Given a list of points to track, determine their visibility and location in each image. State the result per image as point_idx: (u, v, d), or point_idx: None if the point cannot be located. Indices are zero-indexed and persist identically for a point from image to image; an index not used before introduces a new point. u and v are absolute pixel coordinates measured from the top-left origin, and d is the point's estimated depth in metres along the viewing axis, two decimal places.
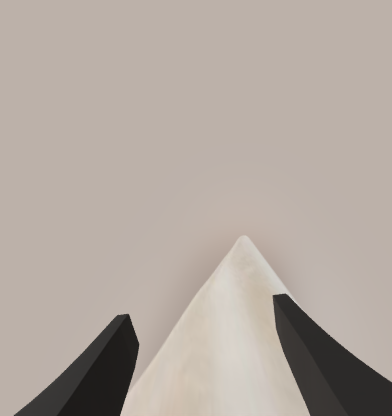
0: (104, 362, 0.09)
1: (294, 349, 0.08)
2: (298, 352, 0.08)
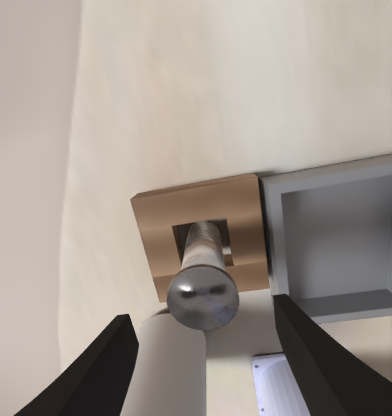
0: (104, 362, 0.09)
1: (294, 349, 0.08)
2: (298, 352, 0.08)
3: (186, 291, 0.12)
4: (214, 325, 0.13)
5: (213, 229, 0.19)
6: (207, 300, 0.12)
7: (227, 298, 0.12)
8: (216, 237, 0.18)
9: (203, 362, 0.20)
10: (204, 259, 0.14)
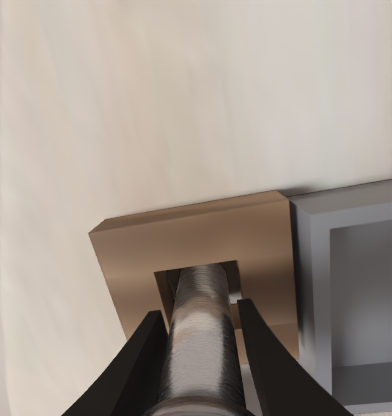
0: (145, 358, 0.08)
1: (250, 354, 0.08)
2: (251, 357, 0.08)
3: None
4: None
5: (217, 274, 0.12)
6: None
7: None
8: (222, 291, 0.11)
9: None
10: (203, 361, 0.07)
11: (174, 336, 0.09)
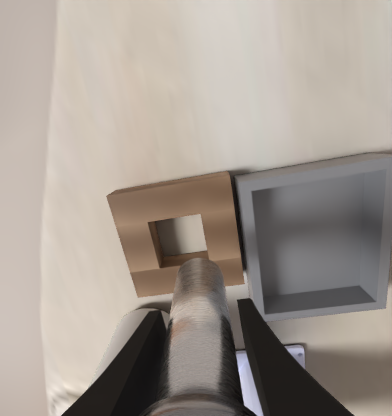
0: (145, 358, 0.08)
1: (250, 354, 0.08)
2: (252, 357, 0.08)
3: None
4: None
5: (214, 274, 0.13)
6: None
7: None
8: (219, 290, 0.11)
9: None
10: (201, 360, 0.07)
11: (172, 335, 0.09)
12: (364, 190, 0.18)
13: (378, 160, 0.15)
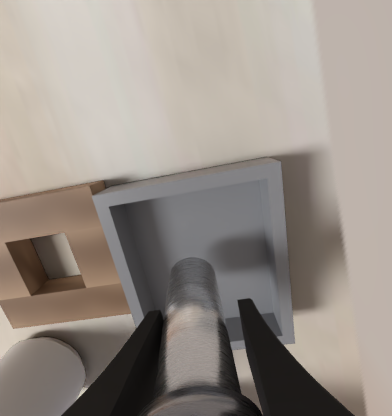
0: (144, 358, 0.08)
1: (250, 354, 0.08)
2: (252, 357, 0.08)
3: None
4: None
5: (207, 272, 0.13)
6: None
7: None
8: (212, 288, 0.12)
9: (58, 398, 0.17)
10: (198, 355, 0.08)
11: (168, 333, 0.09)
12: (263, 202, 0.15)
13: (255, 167, 0.12)
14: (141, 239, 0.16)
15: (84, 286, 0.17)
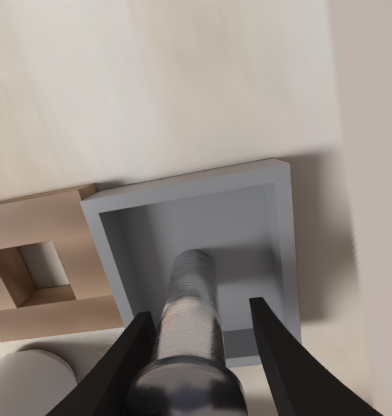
0: (131, 359, 0.08)
1: (264, 352, 0.08)
2: (267, 355, 0.08)
3: (156, 405, 0.07)
4: None
5: (206, 263, 0.14)
6: None
7: (228, 414, 0.07)
8: (209, 277, 0.12)
9: None
10: (189, 332, 0.08)
11: (165, 315, 0.10)
12: (268, 207, 0.14)
13: (261, 170, 0.11)
14: (136, 247, 0.15)
15: (74, 297, 0.15)
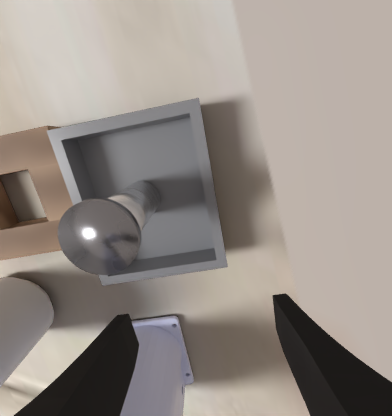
0: (104, 362, 0.09)
1: (294, 349, 0.08)
2: (298, 352, 0.08)
3: (78, 227, 0.11)
4: (115, 268, 0.11)
5: (148, 186, 0.17)
6: (102, 238, 0.11)
7: (124, 234, 0.11)
8: (146, 191, 0.16)
9: (24, 322, 0.19)
10: (111, 200, 0.12)
11: None
12: None
13: (179, 103, 0.15)
14: (96, 179, 0.19)
15: (47, 221, 0.19)
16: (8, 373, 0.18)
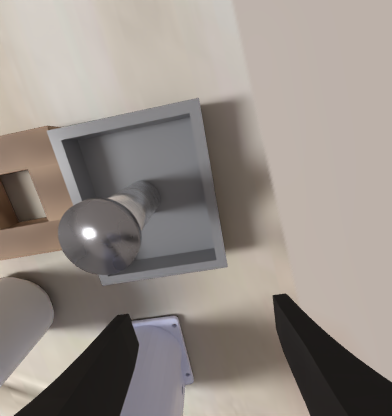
0: (104, 362, 0.09)
1: (294, 349, 0.08)
2: (298, 352, 0.08)
3: (78, 227, 0.11)
4: (115, 268, 0.11)
5: (148, 186, 0.17)
6: (103, 237, 0.11)
7: (125, 234, 0.11)
8: (146, 191, 0.16)
9: (24, 322, 0.19)
10: (111, 200, 0.12)
11: None
12: None
13: (179, 103, 0.15)
14: (96, 179, 0.19)
15: (47, 221, 0.19)
16: (8, 373, 0.18)
